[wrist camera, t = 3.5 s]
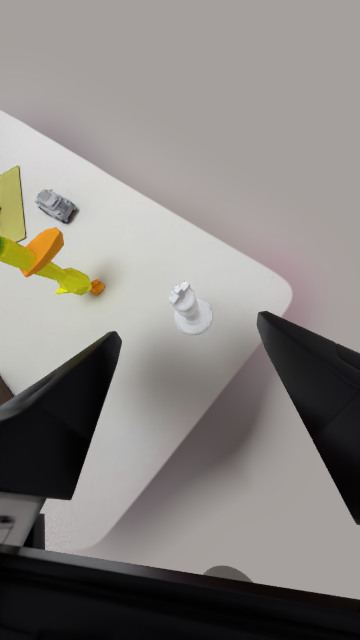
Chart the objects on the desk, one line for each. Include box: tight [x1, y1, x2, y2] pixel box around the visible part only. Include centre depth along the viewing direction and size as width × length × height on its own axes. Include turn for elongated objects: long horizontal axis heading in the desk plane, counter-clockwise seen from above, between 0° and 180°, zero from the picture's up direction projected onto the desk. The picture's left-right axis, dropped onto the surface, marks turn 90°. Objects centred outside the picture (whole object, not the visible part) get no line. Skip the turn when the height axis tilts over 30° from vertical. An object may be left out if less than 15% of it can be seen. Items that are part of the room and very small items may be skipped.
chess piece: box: [169, 281, 212, 335], centre depth 14 cm, size 5×5×10 cm
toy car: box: [35, 189, 76, 223], centre depth 25 cm, size 4×8×3 cm, turn 57°
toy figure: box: [0, 228, 105, 296], centre depth 16 cm, size 7×4×12 cm, turn 135°
